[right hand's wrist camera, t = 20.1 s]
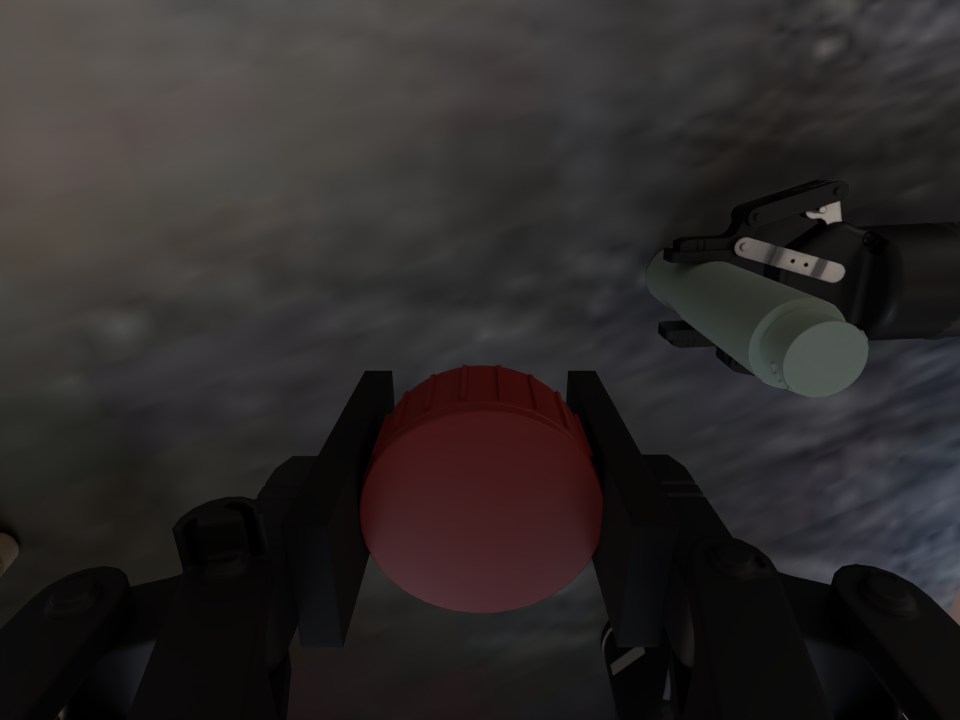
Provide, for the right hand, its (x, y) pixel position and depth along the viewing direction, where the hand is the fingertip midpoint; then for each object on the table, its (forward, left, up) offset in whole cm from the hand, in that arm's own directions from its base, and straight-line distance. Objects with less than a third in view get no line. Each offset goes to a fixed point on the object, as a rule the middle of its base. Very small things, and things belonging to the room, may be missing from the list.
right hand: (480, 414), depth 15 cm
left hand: (+3, +12, -21) cm, 24 cm away
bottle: (+3, +14, -27) cm, 31 cm away
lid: (0, 0, +4) cm, 4 cm away
